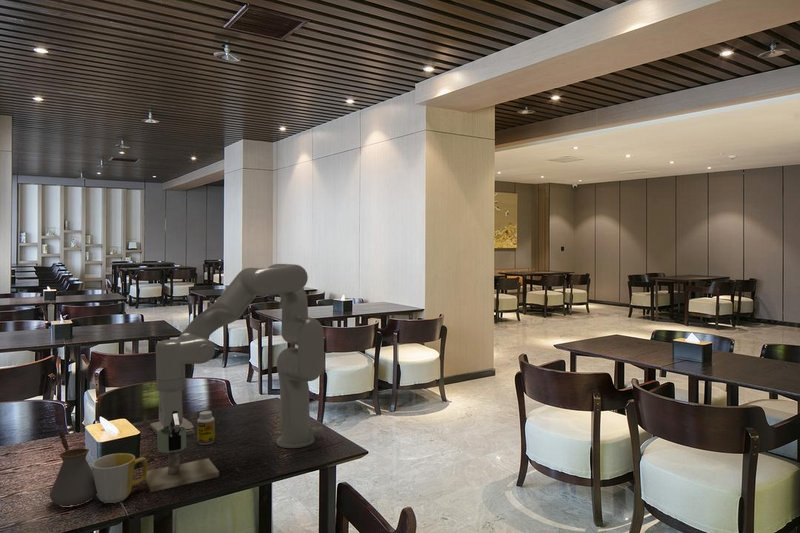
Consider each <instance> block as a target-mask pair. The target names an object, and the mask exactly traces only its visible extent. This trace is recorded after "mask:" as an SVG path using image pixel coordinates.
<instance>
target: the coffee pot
mask: <svg viewBox="0 0 800 533" xmlns="http://www.w3.org/2000/svg"><path fill="white" fill-rule="evenodd" d="M55 435H56V438H59V439H61V445H62V446H63V449H64V451H63V452H61V453H60V454H59V458H60V459H61V460H62V464H61V466H60V469H59V471H58V473H57V476H56V479H55V481H54V483H53V486H52V488H51V491H50V493H49V498H50V500H51V501H52V502H53V503H54V504H56V505H58V506H59V505H62V506H70V505H77V504H81V503H84V502H86V501H88V500H90V499H91V498H92V499H93V498H94V497H96V495H97V490H96V485H95V481H94V476H93V472H92V467H91V465H90V464H89V462H88V460H87V459H86V458H87V455H88V454H89V451H90V449H89V448H73V449H70V446H69V444H68V440H67V439H66V432H65V431H62V430H60V431H59V432H57V433H56V434H55ZM58 435H60V436H58Z"/></svg>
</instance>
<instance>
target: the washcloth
mask: <svg viewBox="0 0 800 533" xmlns="http://www.w3.org/2000/svg"><path fill="white" fill-rule="evenodd" d="M180 427H184V428H185V429H186V437H187V436H191V435H194V434H196V433H195V431H194V428H195V426H194V425H193V423H192V422H190V421H189V420H188V419H186V418H185V417H183V420H182V424H181V425H180ZM148 428H149V429H150V428H151V429H152V430H153V431H152V430H151V429H150V430H151V431H152V432H153V433H154V432H155V433H154V435H157V431H159V430H161V429H163V428H164V427H163V425H162V424H161V423H160V421H159V420H158V421H155V422H151V423H150V424H149V427H148Z"/></svg>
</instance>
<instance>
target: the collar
mask: <svg viewBox="0 0 800 533" xmlns="http://www.w3.org/2000/svg"><path fill="white" fill-rule="evenodd" d="M173 429H174V428H172V430H173ZM180 431H181V449H179V450H174V451H169V440H168V437H169V436H170V434H169V427H168V428H163V429H161V430H159V431H157V434H156V435H157V437H156V438H157V439H156V440H157V442H156V443H157V451H158V452H159V453H165V454H170V453H172V452H176V453H177V452H180V451H182V450H184V449H186V448H187V436H186V429H185V428H184V427H180Z"/></svg>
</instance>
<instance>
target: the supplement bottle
mask: <svg viewBox="0 0 800 533" xmlns="http://www.w3.org/2000/svg"><path fill="white" fill-rule="evenodd" d="M198 415H199V416H198V417H199V418H197V420H196V424H197V425H196V427H197V428H196V429H197V430H196V435H197V444H199V445H202V446H203V445H205V446H206V445H211V444H213V443H215V441H216V430H215V429H216V428H215V427H216V425H215V424H216V423H215V417H213V412H212V411H211V410H202V411H201V412H199V414H198Z"/></svg>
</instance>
